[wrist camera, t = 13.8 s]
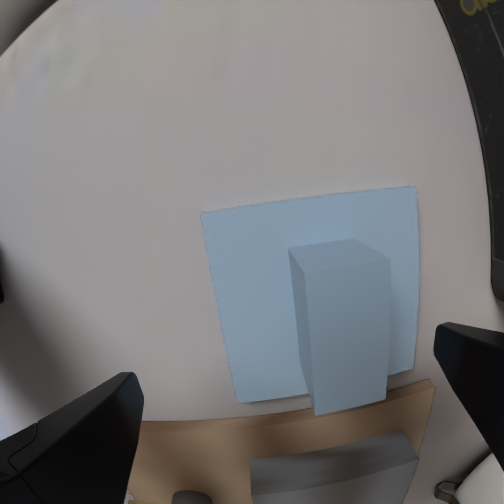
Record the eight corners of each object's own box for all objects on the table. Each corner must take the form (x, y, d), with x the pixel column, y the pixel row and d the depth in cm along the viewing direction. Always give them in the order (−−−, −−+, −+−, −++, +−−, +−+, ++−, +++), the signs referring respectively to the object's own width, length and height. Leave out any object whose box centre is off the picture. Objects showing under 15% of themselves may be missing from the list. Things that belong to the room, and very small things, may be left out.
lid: (238, 387, 17) (236, 457, 12) (204, 211, 15) (182, 226, 10) (402, 356, 17) (445, 408, 12) (401, 186, 15) (466, 190, 9)
